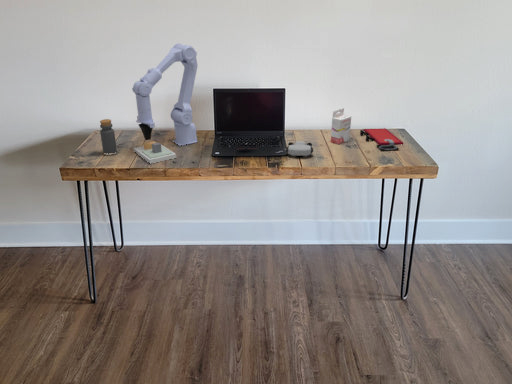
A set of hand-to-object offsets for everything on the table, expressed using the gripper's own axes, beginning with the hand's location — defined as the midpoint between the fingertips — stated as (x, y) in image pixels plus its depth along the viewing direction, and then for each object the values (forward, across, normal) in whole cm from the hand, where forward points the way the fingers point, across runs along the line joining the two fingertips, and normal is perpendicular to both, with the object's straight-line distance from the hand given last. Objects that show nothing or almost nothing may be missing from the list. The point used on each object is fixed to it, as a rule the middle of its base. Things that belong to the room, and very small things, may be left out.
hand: (147, 139), depth 215 cm
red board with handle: (+7, +51, +94) cm, 107 cm away
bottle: (+6, -8, -15) cm, 18 cm away
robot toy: (+6, +42, +53) cm, 67 cm away
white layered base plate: (+6, +6, 0) cm, 8 cm away
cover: (+3, +9, 0) cm, 10 cm away
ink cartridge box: (+6, +41, +78) cm, 88 cm away
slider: (+3, +2, 0) cm, 4 cm away
